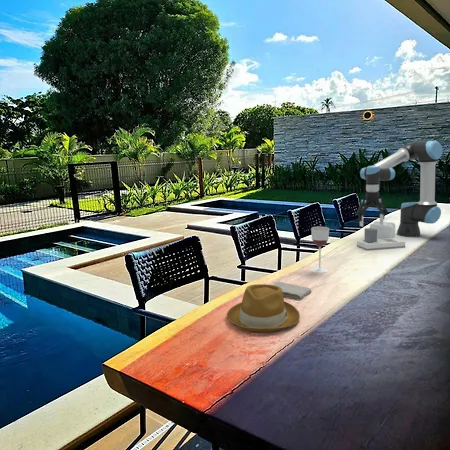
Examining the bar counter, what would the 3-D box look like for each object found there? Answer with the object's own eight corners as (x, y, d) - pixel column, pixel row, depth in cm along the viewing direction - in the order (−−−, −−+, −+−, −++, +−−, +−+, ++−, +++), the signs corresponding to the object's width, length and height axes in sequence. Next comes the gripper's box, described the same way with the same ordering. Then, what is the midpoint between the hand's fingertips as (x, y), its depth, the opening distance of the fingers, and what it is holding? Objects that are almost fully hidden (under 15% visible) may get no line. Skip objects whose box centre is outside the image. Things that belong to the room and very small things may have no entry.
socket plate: (393, 243, 258) (393, 236, 257) (405, 247, 247) (405, 240, 246) (356, 246, 253) (356, 239, 253) (366, 250, 242) (367, 243, 241)
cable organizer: (396, 239, 268) (396, 222, 266) (392, 242, 260) (393, 225, 258) (373, 237, 277) (373, 220, 275) (368, 240, 269) (369, 223, 267)
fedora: (215, 329, 140) (214, 297, 138) (241, 300, 166) (241, 273, 164) (290, 340, 130) (290, 306, 128) (306, 308, 157) (306, 279, 155)
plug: (371, 244, 253) (372, 227, 251) (376, 246, 247) (377, 229, 245) (364, 244, 252) (364, 228, 250) (369, 246, 246) (369, 230, 244)
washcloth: (276, 285, 184) (276, 279, 184) (312, 293, 174) (312, 286, 173) (263, 293, 175) (263, 286, 174) (300, 301, 164) (300, 294, 164)
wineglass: (329, 268, 208) (329, 226, 204) (327, 273, 199) (328, 230, 195) (312, 267, 211) (312, 226, 207) (309, 272, 202) (310, 229, 198)
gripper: (387, 189, 249) (386, 222, 253) (350, 191, 245) (349, 225, 249) (394, 190, 242) (393, 224, 246) (356, 193, 238) (356, 228, 242)
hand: (371, 225), depth 247 cm, fingers open, 13 cm apart
